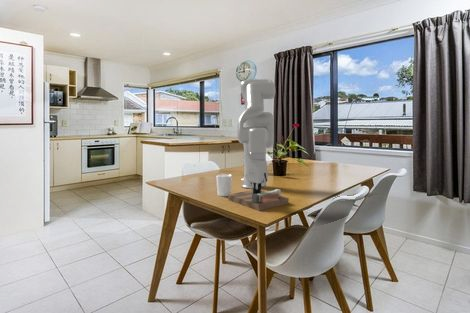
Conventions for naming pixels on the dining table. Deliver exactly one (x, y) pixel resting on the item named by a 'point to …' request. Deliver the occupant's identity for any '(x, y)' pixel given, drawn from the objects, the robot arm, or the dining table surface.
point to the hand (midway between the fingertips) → (256, 197)
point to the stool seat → (265, 203)
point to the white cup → (224, 184)
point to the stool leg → (257, 197)
